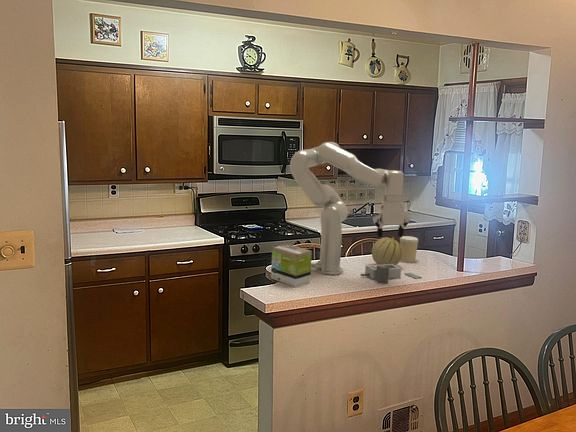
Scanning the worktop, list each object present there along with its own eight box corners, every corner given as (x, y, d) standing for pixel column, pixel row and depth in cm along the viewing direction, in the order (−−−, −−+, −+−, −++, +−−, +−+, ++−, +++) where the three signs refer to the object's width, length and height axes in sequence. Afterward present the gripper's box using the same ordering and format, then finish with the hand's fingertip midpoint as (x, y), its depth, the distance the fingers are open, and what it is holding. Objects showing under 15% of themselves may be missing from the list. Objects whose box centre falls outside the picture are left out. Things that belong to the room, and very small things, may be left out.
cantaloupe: (364, 265, 266) (366, 235, 264) (385, 261, 275) (387, 232, 272) (386, 272, 255) (389, 241, 252) (407, 268, 263) (409, 238, 261)
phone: (414, 280, 246) (415, 278, 246) (403, 275, 253) (403, 273, 253) (421, 279, 248) (421, 277, 248) (410, 274, 255) (410, 272, 255)
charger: (379, 283, 237) (380, 268, 235) (375, 281, 240) (376, 265, 239) (387, 283, 238) (389, 267, 237) (383, 280, 242) (384, 265, 240)
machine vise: (364, 280, 241) (365, 269, 240) (357, 275, 248) (357, 264, 247) (400, 278, 246) (401, 267, 245) (392, 273, 254) (392, 262, 253)
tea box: (270, 279, 236) (271, 246, 234) (285, 275, 244) (287, 243, 241) (295, 287, 226) (297, 253, 224) (311, 283, 234) (312, 249, 231)
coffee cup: (419, 260, 280) (421, 237, 278) (413, 264, 272) (414, 240, 270) (401, 257, 285) (403, 235, 283) (395, 260, 277) (397, 238, 275)
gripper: (377, 199, 231) (375, 238, 234) (414, 200, 235) (411, 238, 238) (371, 197, 238) (368, 235, 241) (407, 197, 242) (404, 234, 245)
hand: (390, 236), depth 239 cm, fingers open, 9 cm apart
